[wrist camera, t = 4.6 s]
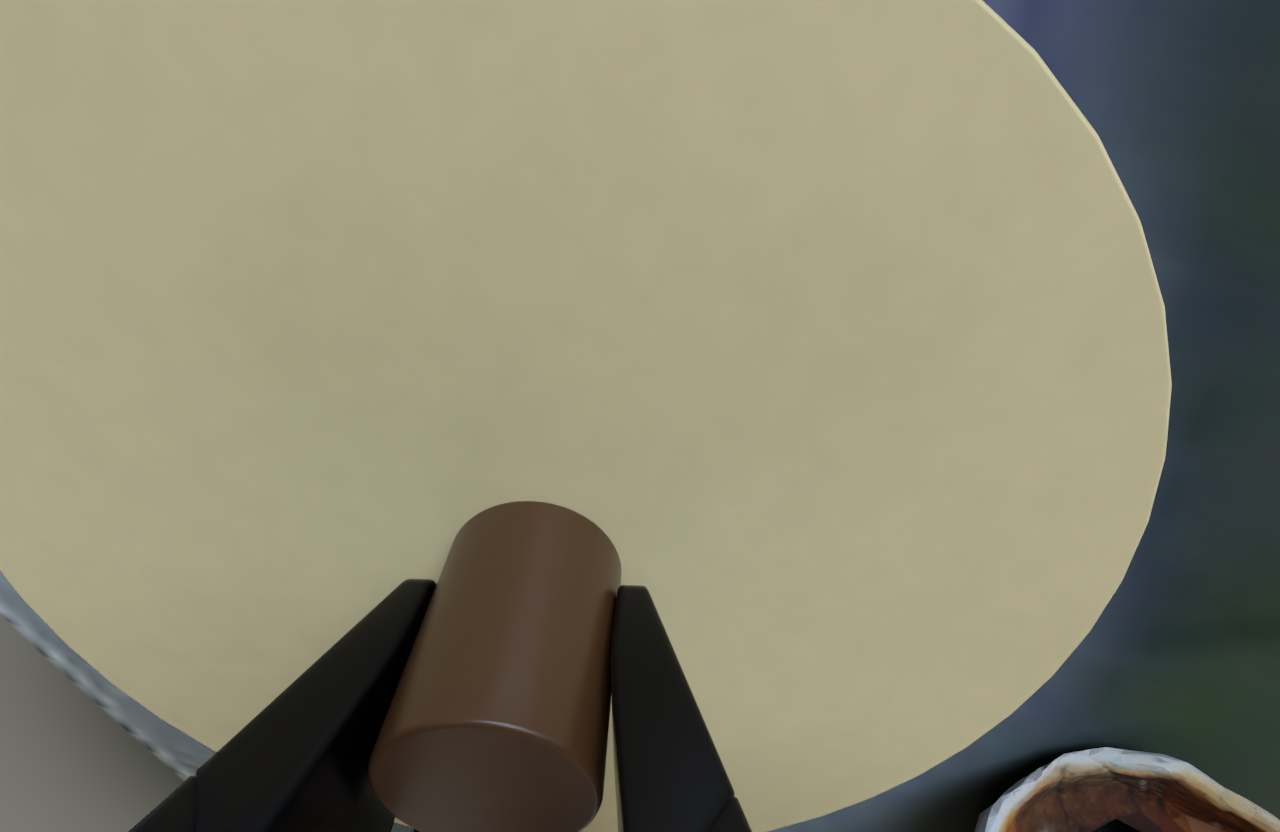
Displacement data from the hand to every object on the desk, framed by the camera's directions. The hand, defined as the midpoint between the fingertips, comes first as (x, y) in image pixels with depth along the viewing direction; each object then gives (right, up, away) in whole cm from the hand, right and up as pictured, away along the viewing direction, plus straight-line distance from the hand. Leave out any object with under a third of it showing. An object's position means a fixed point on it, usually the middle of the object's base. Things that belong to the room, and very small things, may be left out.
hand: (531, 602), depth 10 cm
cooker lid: (0, +1, +1) cm, 1 cm away
